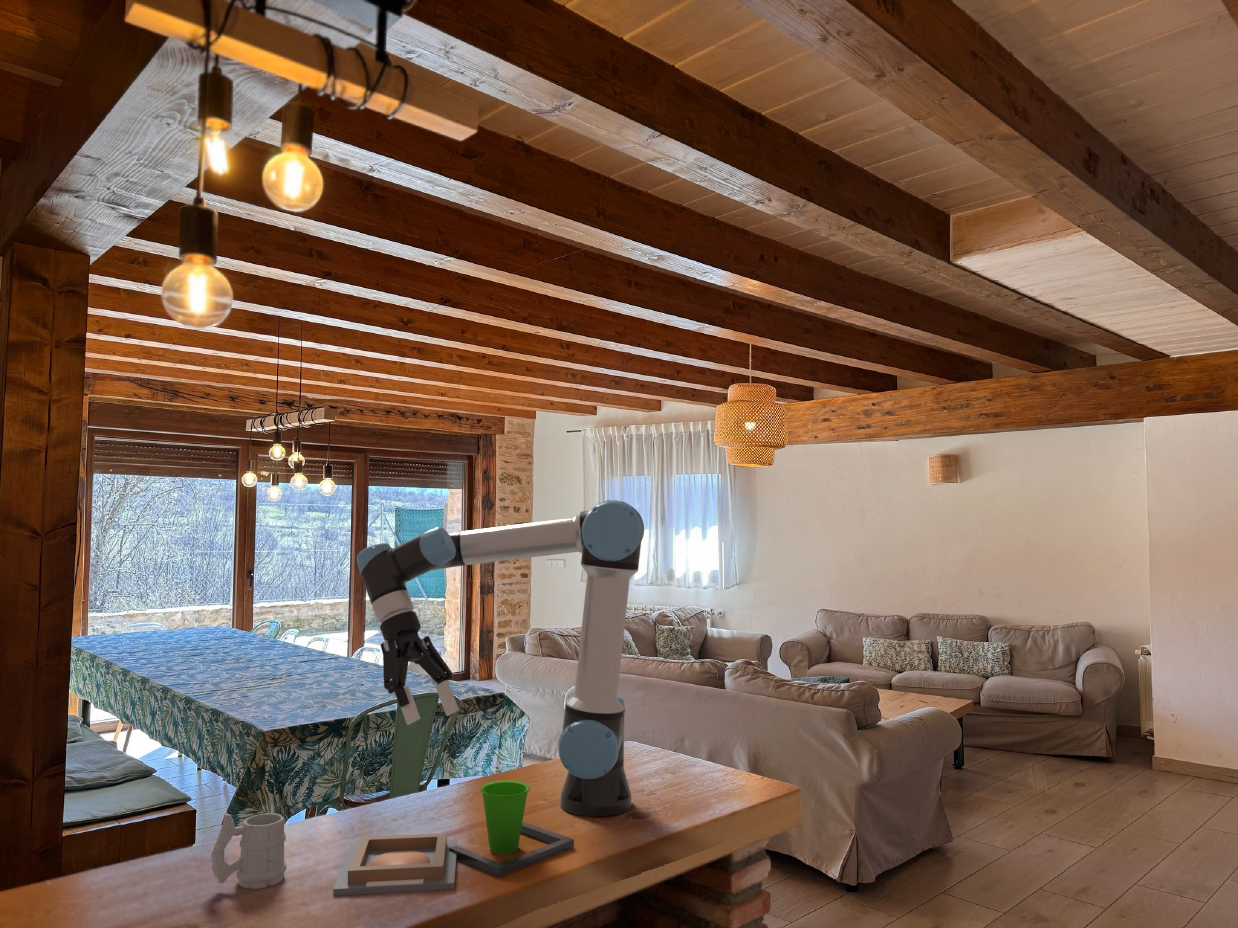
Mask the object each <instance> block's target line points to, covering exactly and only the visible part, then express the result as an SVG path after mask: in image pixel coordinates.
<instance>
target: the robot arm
mask: <svg viewBox="0 0 1238 928" xmlns="http://www.w3.org/2000/svg"><path fill="white" fill-rule="evenodd" d="M644 534H645V524H644V521H643V518H642V516H641V514H640V512H639V511H638V510H637V509H636V508H634V507H633V506H632V505H630V504H629V503H627V502H625V501H622V500H616V499H615V500H604V501H602V502H599V503H597V504H596V505H594V506H593V507H591V509H590V510H583V511H579V512H577V514H576V515H575V516H573V517H565V518H558V519H557V518H556V519H550V520H549V519H548V520H541V521H533V522H527V523H518V524H510V525H509V524H508V525H501V526H493V527H486V528H477V529H470V530H463V531H455V532H448V531H447V530H446V529H445V528H444V527H442V526H436V527H434V528H432V529H429V530H425V531H423V532H422V533H421V534H419V535H417V536H415V537H413V538H411V539H409V540H407V541H405V542H403V543H402V544H399V545H397V546H395V547H393V548H392V546H391V545H390V544H389V543H387V542H379V543H375V544H374V545H370V546H367V547H365V548H363V549H362V550H360V552H359V553H358V554H357V555H356V563H357V567H358V570H359V576H360V578H361V580H362V583H363V585H364V588H365V591H366V592H367V593H366V594H367V596H368V598H369V601H370V604H371V606H372V609H373V611H374V615H375V617H376V620H377V623H379V629H380V633H381V635H382V637H383V640H384V642H382V643H381V644H380V649H381V651H382V664H383V666H382V668H383V670H382V671H383V688H384V689H385V690H387V692H388V693H389V694H391V695H392V694H393V693H394V694H395V697H396V701H397V702H398V706H399V707H400V709H401V712H402V715H403V718H404V720H405V723H406V725H408V726H410V725H412V724H413V723H416V722H417V721H419V720H421V715H420V713H419V711H418V706H417V704H416V701H415V699H414V697H413V693H412V691H411V688H410V686H409V685H407V686H406V681H407V674H408V668H409V663H414V664H416V665H418V666H420V667H421V669H423V671H425V672H426V674H427V675H428V676H429V677H430V678H431V679H432V680H433V681H434V682H435V683H436V685H435V686H434V687H435V689H436V692H437V696H438V697H439V700H440V703H441V705H442V708H443V710H444V714H445V716H446V717H449V716H451V715H452V714H455V713H457V712H458V711H460V709H459V707H458V703H457V701H456V698H455V695H454V693H453V691H452V688H451V685H450V682H449V680H451V679H453V671H452V670H451V669H450V667H449V666H448V664H447V663H446V662H445V660H444V659H443V658H442V656H441V655H440V653H439V652H438V650H437V649H436V647H435V646H434V645H433V642H432V639H431V637H430V636H429V635H426V636H425V637H422V638H421V637H420V636H419V631H420V630H421V628H422V625H421V623H420V620H419V618H418V615H417V613H416V612H415V611H414V610H415V607H414V603H413V601H412V598H411V596H410V594H409V591H408V588H407V587H406V583H407V582H410V581H412V580H414V579H416V578H419V577H420V576H423V575H425V574H426V573H428V572H430V571H435V570H441V569H449V568H454V567H455V568H456V567H465V566H469V565H477V564H479V565H480V564H488V563H495V562H505V561H511V560H512V561H513V560H518V559H519V560H520V559H528V558H529V559H530V558H536V557H537V558H539V557H546V556H553V555H563V554H570V553H571V554H572V553H580V554H581V559H580V560H581V561H580V566H581V567H582V568H583V570H584V571H585V572H586V574H587V576H586V585H585V594H584V602H583V603H584V604H583V612H582V622H581V630H580V639H579V648H578V657H577V658H578V659H577V666H576V667H577V668H576V676H575V686H574V693H573V695H571V696H570V697H569V698H568V699H567V700H566V701H565V708H564V715H563V725H562V731H561V734H560V735H559V738H558V742H557V749H558V750H557V751H558V756H559V760H560V763H561V764H562V765H563V767H564V768H565V769H566V770H567V774H566V777H565V781H564V783H563V786H562V790H561V792H560V808H561V809H562V810H564V811H565V812H568V813H570V814H573V815H578V816H584V817H597V818H598V817H611V816H616V815H620V814H623V813H625V812H627V811H629V810H630V809H631V808H632V792H631V788H630V786H629V785H630V784H629V783H628V777H627V775H626V772H625V767H624V766H625V762H624V761H625V760H624V759H625V713H626V708H625V700H624V698H623V697H622V696H618V693H619V683H620V673H621V665H622V658H623V657H622V656H623V646H624V637H625V627H626V626H625V625H626V619H627V617H626V616H627V609H628V601H629V600H628V599H629V588H630V581H631V580H630V579H631V578H632V577H633V576H634V575H635V574H637V573H638V572H639V568H640V567H639V565H640V559H641V558H640V557H641V549H642V547H641V546H642V541H643V538H644Z"/></svg>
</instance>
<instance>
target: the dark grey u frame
mask: <svg viewBox="0 0 1238 928" xmlns="http://www.w3.org/2000/svg"><path fill="white" fill-rule="evenodd" d="M520 834H522V835H525V836H529V837H530V838H534V839H536V840H537V841H542V842H544V843H547V845H544V846H542V847H539V848H536V849H534V850H531V851H529V852H526V853H523V854H521V855H518V856H515V857H512V858H510V859H507V860H505V861H502V862H499V861H495V860H493V859H491V858H488V857H486V856H484V855H481V854H479V853H477V852H474V851H473V850H472V851H471V850H469V849H467V848H464V847H461V846H459V845H458V844H457V845H455V846H452V847H449V851H451V852H454V853H456V861H459V862H462V863H464V864H466V865H467V866H471V867H473V868H475V869H478V870H480V871H482V872H484V873H487V874H489V875H491V876H494V877H497V878H502V877H504V876H507V875H509V874H512V873H513V872H517V871H519V870H522V869H525V868H527V867H529V866H532V865H535V864H537V863H539V862H543V861H545V860H547V859H549V858H552V857H554V856H557V855H560V854H562V853H564V852H567V851H569V850H572V849H574V848H575V839H574V838H571V837H568V836H564V835H562V834H560V833H557V832H554V831H551V830H548V829H545V828H542V827H540V826H536V825H534V824H532V823H529V822H525V821H523V822H522V828H521V833H520Z"/></svg>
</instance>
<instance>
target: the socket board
mask: <svg viewBox="0 0 1238 928" xmlns="http://www.w3.org/2000/svg"><path fill="white" fill-rule="evenodd" d="M455 845H457V846H458V839H456V840H455V839H454V840H451V839H450V840H448V833H447V832H443V833H441V832H440V833H422V834H421V833H419V834H416V833H415V834H394V835H393V834H391V835H371V836H360V839H359V841H358V843H356V844H351V845H350V847H349V850H348V852H347V855H346V857H345V860H344V861H343V864H342V867H341V869H340V872H339V874H338V877H337V879H336V882H335V884H334V887H333V889H332V890H333V891H332V892H333V893H332V895H333V896H352V895H368V894H371V895H372V894H388V893H389V894H390V893H407V892H408V893H409V892H424V891H425V892H427V891H428V892H429V891H445V890H450V891H451V890H454V889H455V881H456V880H455V878H456V868H457V867H456V865H457V860H456V853H454V852H451V851H449V847H452V846H455Z"/></svg>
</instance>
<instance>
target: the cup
mask: <svg viewBox="0 0 1238 928" xmlns="http://www.w3.org/2000/svg"><path fill="white" fill-rule="evenodd" d="M530 790H531V787H530V786H529V785H528V783H525V782H524V781H523V782H522V781H520V780H518V781H517V780H496V781H491V782H487V783H485V784H483V785H482V786H481V787H480V792H481V793H482V799H483V807H484V814H485V821H486V822H485V823H486V830H487V837H488V845H489V849H490V851H491V852H492V853H493V854H494V853H495V854H500V855H504V854H505V855H507V854H512V853H514V852H516V851H517V850H518V848H519V844H520V839H521V834H522V833H521V828H522V822H524V815H525V810H526V809H525V808H526V802H527V797H528V792H529V791H530Z"/></svg>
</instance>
